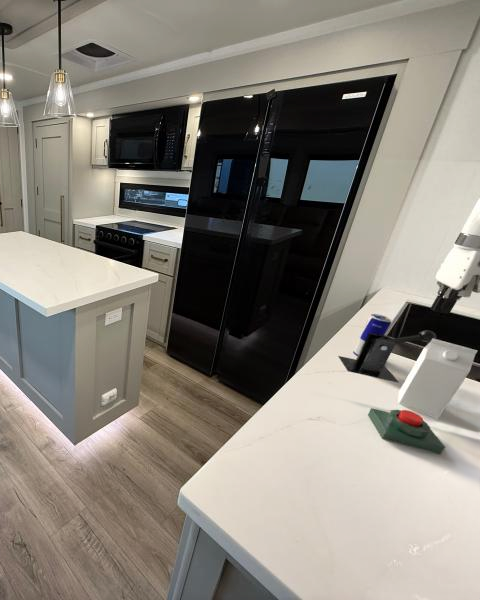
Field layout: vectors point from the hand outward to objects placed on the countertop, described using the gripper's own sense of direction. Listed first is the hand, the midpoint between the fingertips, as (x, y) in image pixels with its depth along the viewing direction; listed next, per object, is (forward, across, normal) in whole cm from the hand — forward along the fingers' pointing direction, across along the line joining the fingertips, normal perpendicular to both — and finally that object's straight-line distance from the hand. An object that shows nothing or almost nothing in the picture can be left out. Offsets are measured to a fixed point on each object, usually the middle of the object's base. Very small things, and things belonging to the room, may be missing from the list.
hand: (439, 311), depth 82 cm
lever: (+11, 0, +3) cm, 12 cm away
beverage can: (+22, +9, +6) cm, 25 cm away
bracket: (+22, 0, +8) cm, 24 cm away
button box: (+22, -27, +10) cm, 37 cm away
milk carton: (+22, -14, +2) cm, 27 cm away
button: (+19, -27, +10) cm, 35 cm away
